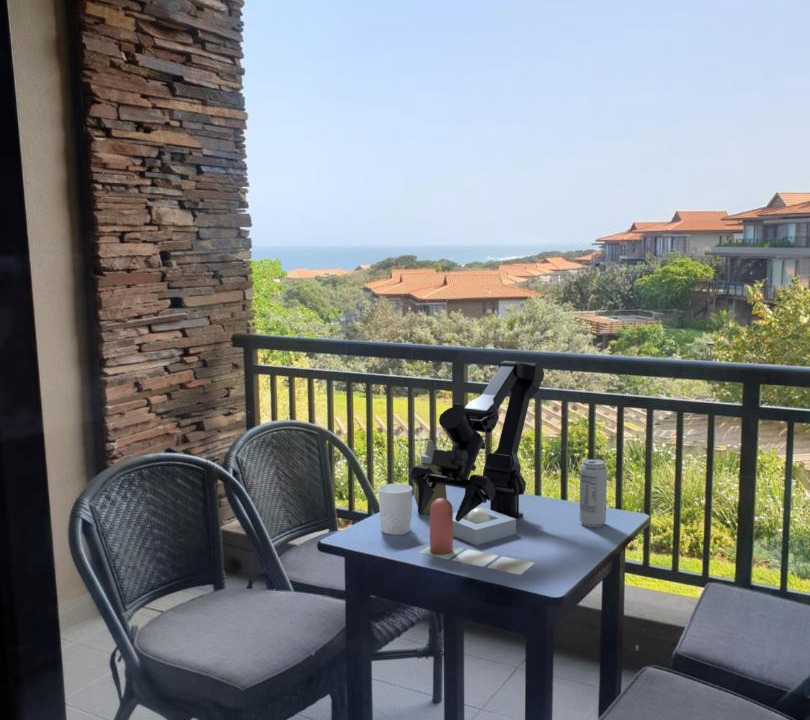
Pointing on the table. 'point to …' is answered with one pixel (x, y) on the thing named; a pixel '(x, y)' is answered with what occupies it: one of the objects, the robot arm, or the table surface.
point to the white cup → (395, 508)
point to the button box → (484, 528)
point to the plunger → (478, 516)
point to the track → (484, 560)
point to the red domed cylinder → (441, 527)
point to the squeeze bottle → (426, 462)
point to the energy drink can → (593, 493)
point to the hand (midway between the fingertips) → (437, 517)
